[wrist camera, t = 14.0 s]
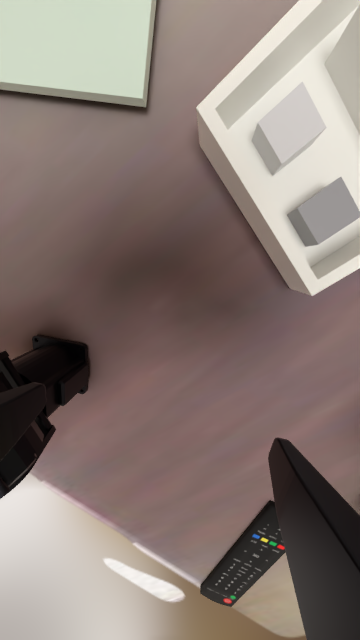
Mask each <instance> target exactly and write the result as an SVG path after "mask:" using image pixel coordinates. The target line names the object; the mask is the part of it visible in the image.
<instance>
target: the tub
mask: <svg viewBox="0 0 360 640" xmlns="http://www.w3.org/2000/svg"><path fill="white" fill-rule="evenodd" d="M196 110H197V122H198V134H199V145H200V147H201V149H202V150H203V152H204V153H205V155H206V156H207V158H208V160H209V161H210V163H211V164H212V166H213V168H214V169H215V171H216V172H217V174H218V175H219V177H220V179H221V180H222V182H223V183H224V185H225V187H226V188H227V190H228V191H229V193H230V195H231V196H232V198H233V199H234V201H235V202H236V204H237V206H238V207H239V209H240V210H241V212H242V214H243V215H244V217H245V218H246V220H247V221H248V223H249V225H250V226H251V228H252V229H253V231H254V233H255V234H256V236H257V237H258V239H259V241H260V242H261V244H262V245H263V247H264V248H265V250H266V252H267V253H268V255H269V256H270V258H271V260H272V261H273V263H274V264H275V266H276V267H277V269H278V271H279V272H280V274H281V275H282V277H283V279H284V280H285V282H286V283H287V285H288V287H289V288H290V289H292V290H295V291H298V292H301V293H304V294H307V295H310V296H313V295H315V294H316V293H318V292H320V291H321V290H323V289H325V288H327V287H328V286H330V285H332V284H333V283H335V282H337V281H338V280H340V279H342V278H344V277H345V276H347V275H349V274H350V273H352V272H354V271H355V270H357V269H359V268H360V0H299V1H298V2H297V3H296V4H295V5H294V6H293V7H292V9H291V10H290V11H289V12H288V13H287V14H286V15H285V16H284V17H283V18H282V19H281V20H280V21H279V22H278V23H277V24H276V25H275V26H274V27H273V28H272V29H271V30H270V31H269V32H268V33H267V35H266V36H265V37H264V38H263V39H262V40H261V41H260V42H259V43H258V44H257V45H256V46H255V47H254V48H253V49H252V50H251V51H250V52H249V53H248V54H247V55H246V56H245V57H244V58H243V59H242V60H241V62H240V63H239V64H238V65H237V66H236V67H235V68H234V69H233V70H232V71H231V72H230V73H229V74H228V75H227V76H226V77H225V78H224V79H223V80H222V81H221V82H220V83H219V84H218V85H217V86H216V88H215V89H214V90H213V91H212V92H211V93H210V94H209V95H208V96H207V97H206V98H205V99H204V100H203V101H202V102H201V103H200V104H199V105H198V106H197V107H196Z"/></svg>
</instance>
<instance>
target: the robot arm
mask: <svg viewBox="0 0 360 640" xmlns="http://www.w3.org/2000/svg"><path fill="white" fill-rule="evenodd" d="M32 340H33V350H31V351H29V352H27V353H25V354H23V355H21V356H19V357H17V358H15V359H13V360H10V359H9V357H8V356H9V355H8V353H7V352H6V351H3V352H1V353H0V498H2V497H3V496H5V495H6V494H7V493H9V492H10V491H11V490H12V489H13V488H15V487H16V485H18V484H19V483H20V482H21V481H22V480H23V479H24V478H25V477H26V475H27V474H28V473H29V472H30V470H31V469H32V468H33V466H34V465H35V463H36V461H37V460H38V458H39V456H40V455H41V453H42V452H43V450H44V448H45V447H46V445H47V443H48V442H49V440H50V439H51V437H52V435H53V434H54V432H55V431H56V429H55V427H54V426H53V425H51V423H50V422H49V420H48V417H49V416H50V415H51V414H52V413H53V412H54V411H55V410H56V409H57V408H58V407H59V406H60V405H61V406H64V405H65V404H67V403H68V402H69V401H70V400H71V399H72V398H73V397H74V396H75V395H76V394H77V393H80V394H84V393H85V392H86V391H87V389H88V363H87V346H86V345H85V344H82V343H77V342H72V341H67V340H62V339H57V338H52V337H47V336H42V335H36V336H34V337H33V339H32ZM81 347H82V348H83V349H82V348H81ZM268 460H269V467H270V474H271V481H272V487H273V494H274V500H275V507H276V512H277V517H278V522H279V526H280V530H281V535H282V539H283V543H284V547H285V551H286V555H287V559H288V564H289V568H290V572H291V576H292V580H293V584H294V588H295V593H296V597H297V601H298V605H299V609H300V613H301V617H302V621H303V626H304V630H305V634H306V638H307V640H360V516H359V514H358V513H357V512H356V511H355V510H354V509H353V508H352V507H351V506H350V505H349V504H348V503H347V502H346V501H345V500H344V499H343V497H342V496H341V495H340V494H339V493H338V492H337V491H336V490H335V489H334V488H333V487H332V486H331V485H330V484H329V483H328V482H327V480H326V479H325V478H324V477H323V476H322V475H321V474H320V473H319V472H318V471H317V470H316V469H315V468H314V467H313V466H312V465H311V463H310V462H309V461H308V460H307V459H306V458H305V457H304V456H303V455H302V454H301V453H300V452H299V451H298V450H297V449H296V448H295V446H294V445H293V444H292V443H291V442H290V441H288V440H286V439H282V438H275V439H274V442H273V444H272V447H271V450H270V452H269V457H268Z"/></svg>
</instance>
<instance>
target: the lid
mask: <svg viewBox="0 0 360 640" xmlns="http://www.w3.org/2000/svg"><path fill="white" fill-rule="evenodd" d="M155 10H156V0H0V89H1V90H10V91H18V92H26V93H34V94H42V95H51V96H59V97H67V98H75V99H83V100H91V101H100V102H108V103H116V104H124V105H132V106H141V107H146V103H147V92H148V82H149V72H150V61H151V51H152V41H153V30H154V20H155Z"/></svg>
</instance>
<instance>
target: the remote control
mask: <svg viewBox="0 0 360 640" xmlns="http://www.w3.org/2000/svg"><path fill="white" fill-rule="evenodd" d="M285 552H286V551H285V547H284V543H283V539H282V535H281V530H280V526H279V522H278V517H277V512H276V507H275V502H273V501H270V502H269V503H268V504H267V505H266V507H265V508H264V509H263V510H262V512H261V513H260V514H259V515H258V516H257V518H256V519H255V520H254V521H253V523H252V524H251V525H250V526H249V527H248V529H247V530H246V531H245V532H244V534H243V535H242V536H241V537H240V539H239V540H238V541H237V542H236V543H235V545H234V546H233V547H232V548H231V550H230V551H229V552H228V553H227V554H226V556H225V557H224V558H223V559H222V561H221V562H220V563H219V564H218V565H217V567H216V568H215V569H214V570H213V572H212V573H211V574H210V575H209V577H208V578H207V579H206V580H205V581H204V583H203V584H202V585H201V590H200V592H201V594H202V595H204V596H205V597H207V598H209V599H210V600H212V601H214V602H217V603H220V604H223V605H226V606H230V607H231V606H232V605H233V604H234V603H235V602H236V601H237V600H238V599H239V598H240V597H241V596H242V595H243V594H244V593H245V592H246V591H247V590H248V589H249V588H250V587H251V586H252V585H253V584H254V583H255V582H256V581H257V580H258V579H259V578H260V577H261V576H262V575H263V574H264V573H265V572H266V571H267V570H268V569H269V568H270V567H271V566H272V565H273V564H274V563H275V562H276V561H277V560H278V559H279V558H280V557H281V556H282V555H283V554H284V553H285Z"/></svg>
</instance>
